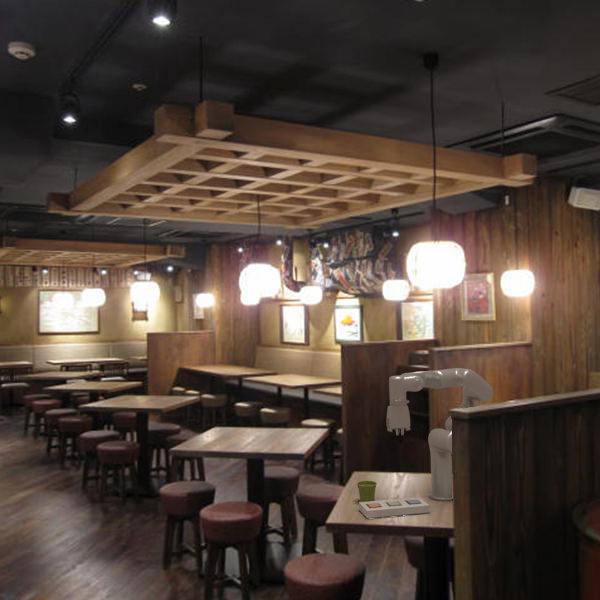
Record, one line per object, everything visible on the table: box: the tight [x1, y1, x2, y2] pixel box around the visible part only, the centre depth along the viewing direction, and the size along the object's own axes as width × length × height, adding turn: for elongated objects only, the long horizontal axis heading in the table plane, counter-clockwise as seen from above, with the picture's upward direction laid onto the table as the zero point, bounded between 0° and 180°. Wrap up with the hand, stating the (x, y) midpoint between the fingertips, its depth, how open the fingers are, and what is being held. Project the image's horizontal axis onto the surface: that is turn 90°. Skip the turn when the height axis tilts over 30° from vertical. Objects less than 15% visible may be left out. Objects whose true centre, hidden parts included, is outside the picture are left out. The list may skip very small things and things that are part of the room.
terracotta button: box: [367, 503, 380, 508], centre depth 258 cm, size 4×4×3 cm
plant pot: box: [356, 480, 378, 502], centre depth 274 cm, size 9×9×9 cm
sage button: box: [387, 501, 400, 507], centre depth 260 cm, size 4×4×3 cm
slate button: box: [407, 500, 420, 505], centre depth 262 cm, size 4×4×3 cm
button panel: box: [358, 496, 431, 520], centre depth 260 cm, size 28×12×4 cm, turn 101°
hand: (399, 443), depth 272 cm, fingers closed
